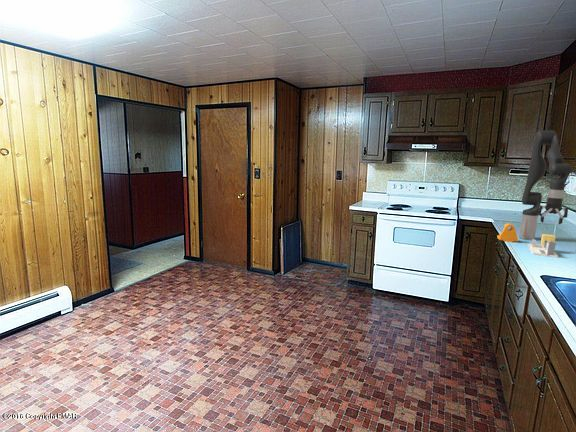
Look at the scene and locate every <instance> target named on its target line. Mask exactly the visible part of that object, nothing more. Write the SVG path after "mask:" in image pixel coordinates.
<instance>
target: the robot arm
mask: <svg viewBox="0 0 576 432" xmlns="http://www.w3.org/2000/svg"><path fill="white" fill-rule="evenodd" d="M557 133H558V132H556V131H555V130H550V129H549V130H537V132H536V133H535V136H534V141H533V147H532V153H531V159H530V163H529V168H528V172H527V176H526V177H527V178H526V181H525V182H526V183H525V187H524V189H523V194H522V197H521V203H522V204H523V205H525V206H532V207H530V208H527V209H523V210H522V214H521V221H520V228H519V233H518V239H522V240H527V241H532V239H535V238H536V232H537V225H538V221H539V220H538V219H539V217H540V222H541V223H544V221H545V216H546V215H547V214H549V215H550V214H553V215H558V216H559V218H558V225H561V224H563V220H564V219H566V218H568V214H569V213H568V212H569V208H568V207H567V206H566V207H563V201H564V197H565V196H564V194H565V185H566V182H567V181H568V178H569V176H570V174H571V172H572V166H571V164H569V163H564V161H565V160H564V157H563V155H562V152H561V149H560V144H559V138H558V134H557ZM548 145H549V146H550V148H548V150H547V153H546V158H547V160H548V164H549V165H548V173H549V174H550V175H551V176H559V178H554V179H551V180H550V183H549V189H548V191H547V192H548V193H547V198H546V204H545V205H541V204H542V200H543V198H542V197H543V195H542V192H538V191H537V192H536V191H532V189H533V188H534V186H535V185H536V184H537V183H538V182H539V181H541V179H542V178H544V176H545V174H546V170H547V162H546V159H545V158H544V157H543V154H542V151H541V149H542V148H541V147H542V146H548ZM544 209H545V210H544ZM543 210H544V211H543ZM542 211H543V212H542ZM561 211H563V215H562V213H561ZM535 240H536V239H535Z"/></svg>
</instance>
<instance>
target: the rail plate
mask: <svg viewBox="0 0 576 432" xmlns="http://www.w3.org/2000/svg"><path fill="white" fill-rule="evenodd" d="M556 243H557V242H556V241H555V242H551V241H545V242H544V245H541V244H537V240H536V239H532V240H531V243H527V247H528V249H529V251H530V252H531V254H532V255H535V254H536V255H535V256H545V257H550V258H551V257H553V258H558V257H559V256H558V254H557V253H556V252H555V250H556Z"/></svg>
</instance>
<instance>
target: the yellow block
mask: <svg viewBox="0 0 576 432" xmlns="http://www.w3.org/2000/svg"><path fill="white" fill-rule="evenodd" d="M556 238H557V237H556V236H555V234H548V233H547V234H545V233H542V234H541V238H540V239H541V240H540V245H542V246H544V245H545V241H551V242H556Z"/></svg>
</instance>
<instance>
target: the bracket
mask: <svg viewBox="0 0 576 432" xmlns="http://www.w3.org/2000/svg"><path fill="white" fill-rule="evenodd" d="M509 227H510V228H509ZM497 239H498V240H499V241H502V242H507V243H514V242H518V241H519V236H518V234H517V231H516V227H515V226H514V225H513V224H511V223H509V222H508V223H505V224H504V226H503V230H502V231H501V233H500V234H497Z"/></svg>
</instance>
